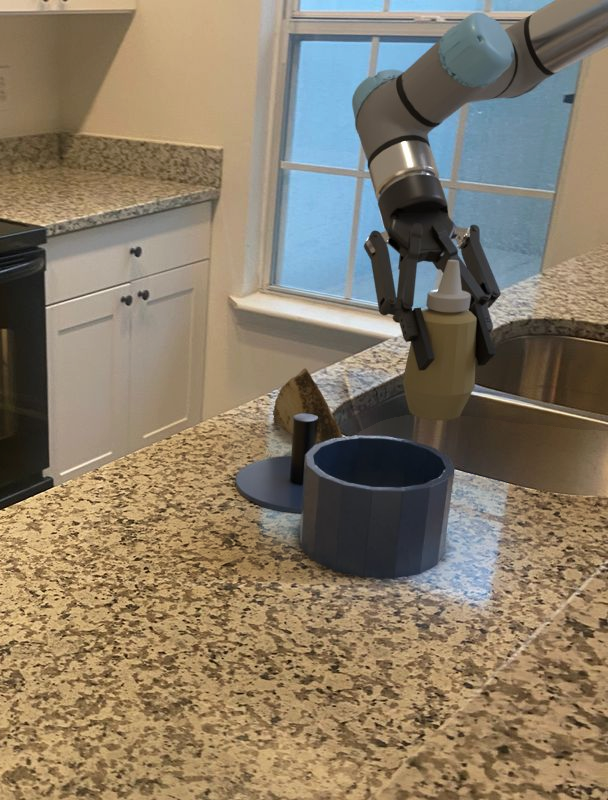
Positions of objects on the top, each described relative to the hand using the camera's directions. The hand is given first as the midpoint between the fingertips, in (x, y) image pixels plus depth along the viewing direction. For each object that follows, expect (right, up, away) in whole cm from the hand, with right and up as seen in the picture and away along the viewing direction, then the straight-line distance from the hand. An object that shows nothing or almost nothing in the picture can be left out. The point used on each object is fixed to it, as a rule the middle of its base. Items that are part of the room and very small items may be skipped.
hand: (456, 361), depth 115 cm
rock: (-14, -8, +14) cm, 21 cm away
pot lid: (-18, -14, -1) cm, 22 cm away
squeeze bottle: (0, -5, +6) cm, 8 cm away
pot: (-13, -21, -14) cm, 28 cm away
